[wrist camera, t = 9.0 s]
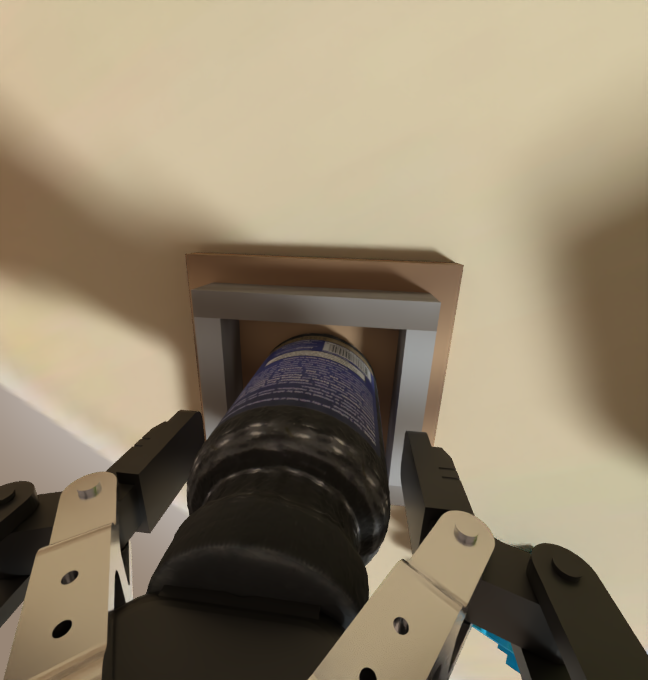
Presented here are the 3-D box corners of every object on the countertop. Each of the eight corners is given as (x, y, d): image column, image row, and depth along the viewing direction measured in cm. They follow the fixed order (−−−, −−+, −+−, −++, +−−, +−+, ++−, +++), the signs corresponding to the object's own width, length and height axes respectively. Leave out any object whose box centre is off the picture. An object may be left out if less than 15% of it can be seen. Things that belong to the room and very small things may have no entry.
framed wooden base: (197, 252, 16) (157, 257, 13) (456, 263, 15) (481, 270, 12) (217, 459, 21) (190, 501, 17) (421, 480, 19) (433, 529, 16)
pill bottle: (242, 354, 17) (48, 552, 6) (350, 311, 15) (329, 473, 5) (292, 447, 18) (202, 730, 8) (394, 415, 17) (448, 707, 6)
